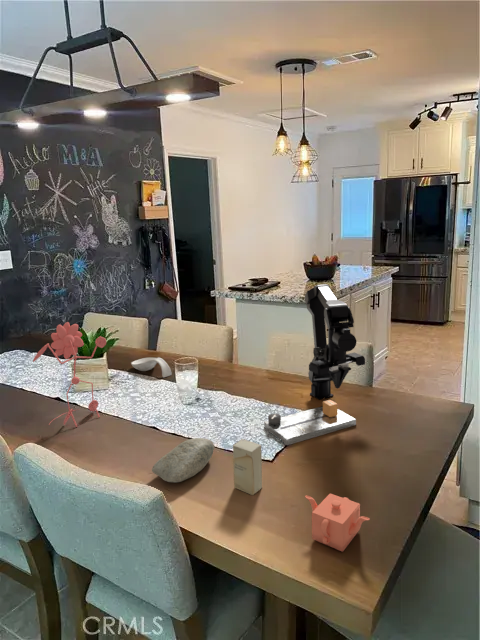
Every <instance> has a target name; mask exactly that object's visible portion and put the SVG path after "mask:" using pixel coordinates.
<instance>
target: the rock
mask: <svg viewBox="0 0 480 640" xmlns="http://www.w3.org/2000/svg"><path fill="white" fill-rule="evenodd" d="M214 450H215V444H214V442H213V441H212V440H210V439H208V438H203V437H197V438H195V437H194V438H189V439H187V440H184V441H183V442H180V443H179V444H177V445H176V446H175V447H174V448H172V449H171V450H170V451H169V452H167V453H166V454H165V455H164V456H161V458H159V459H158V460H157V461H156V462H155V463H154V464H153V466H152V468H151V472H152V473H153V474H154V475H156V476H158V477H159V478H161V479H162V480H163V481H165V482H168V483H181V482H183V481H186V480H188V479H190V478H193V477H195V475H197V474H199V472H201V471H202V470H203V469H204V468H205V466H206V465H207V464H208V463H209V462H210V460H211V458H212V456H213V454H214Z"/></svg>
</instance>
